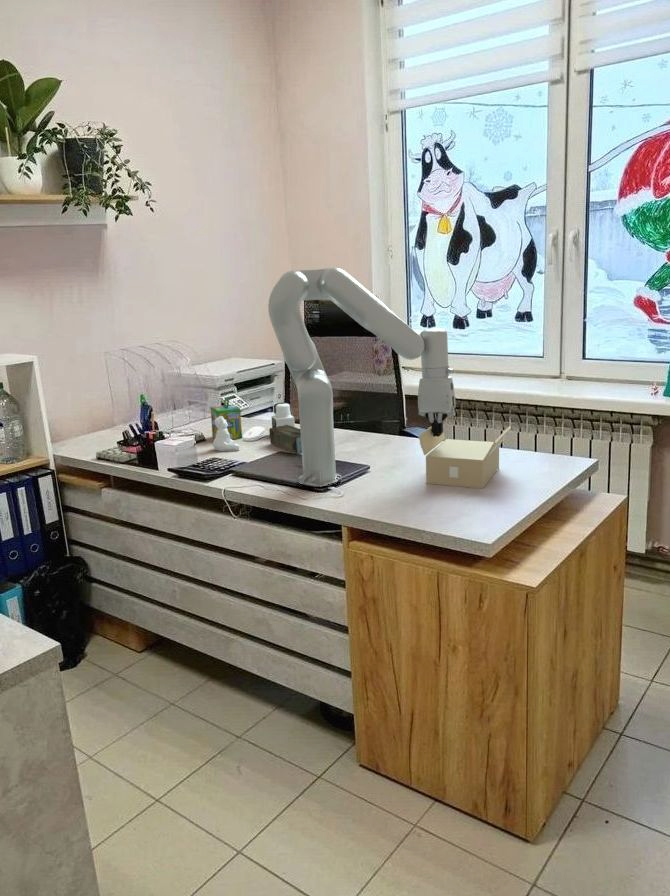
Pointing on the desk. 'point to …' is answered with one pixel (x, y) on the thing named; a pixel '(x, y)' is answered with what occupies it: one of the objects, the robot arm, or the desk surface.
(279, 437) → the beverage carton
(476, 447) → the carton
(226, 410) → the chalk box
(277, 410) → the medicine bottle
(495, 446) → the right flap
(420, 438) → the left flap
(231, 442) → the white creature statuette
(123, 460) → the mechanical keyboard
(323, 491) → the desk surface
